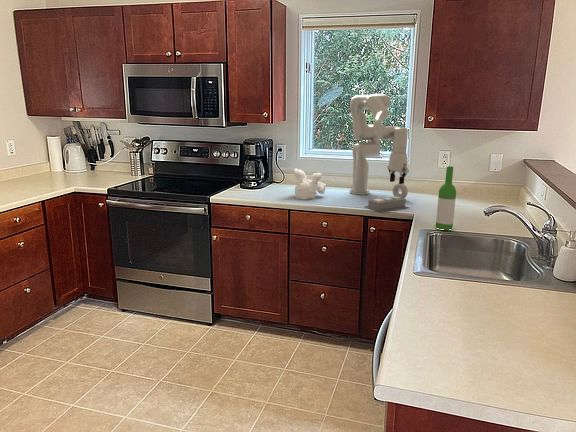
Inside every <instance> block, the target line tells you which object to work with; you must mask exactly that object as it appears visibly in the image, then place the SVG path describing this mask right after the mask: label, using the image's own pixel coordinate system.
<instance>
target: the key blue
mask: <svg viewBox="0 0 576 432" xmlns="http://www.w3.org/2000/svg"><path fill="white" fill-rule="evenodd" d="M388 197H389V196H387V197H381V199H382V200H385V201H392V200H393V199H392V198H388Z"/></svg>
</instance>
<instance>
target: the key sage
mask: <svg viewBox="0 0 576 432" xmlns="http://www.w3.org/2000/svg"><path fill="white" fill-rule="evenodd" d="M389 197H390V198H392V199H395V200H398V199H401V197H398V196H394V195H393V196H389Z"/></svg>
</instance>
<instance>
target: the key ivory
mask: <svg viewBox="0 0 576 432" xmlns="http://www.w3.org/2000/svg"><path fill="white" fill-rule="evenodd" d="M372 200H373V201H375V202H378V203H379V202H384V200H382V199H379V198H373V199H372Z"/></svg>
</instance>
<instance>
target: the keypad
mask: <svg viewBox="0 0 576 432" xmlns="http://www.w3.org/2000/svg"><path fill="white" fill-rule="evenodd" d="M387 197H388V198H390V197H391V196H387ZM381 198H382V197H381ZM381 198H378V199H381ZM367 201H368V203H367V205H364V206H363V207H364V208H367V209H368V210H369V209H370V210H372V211H376V212H378V213H382V214H383V213H388V212H393V211H399V210H400V211H401V210H405V209H406V210H407V209H409V208H410V207H409V206H406V202H407V201H406V198H401V199H398V200H395V199H393V200H392V201H385V200H384V202H379V203H378V202H375V201H373V199H367Z"/></svg>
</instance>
